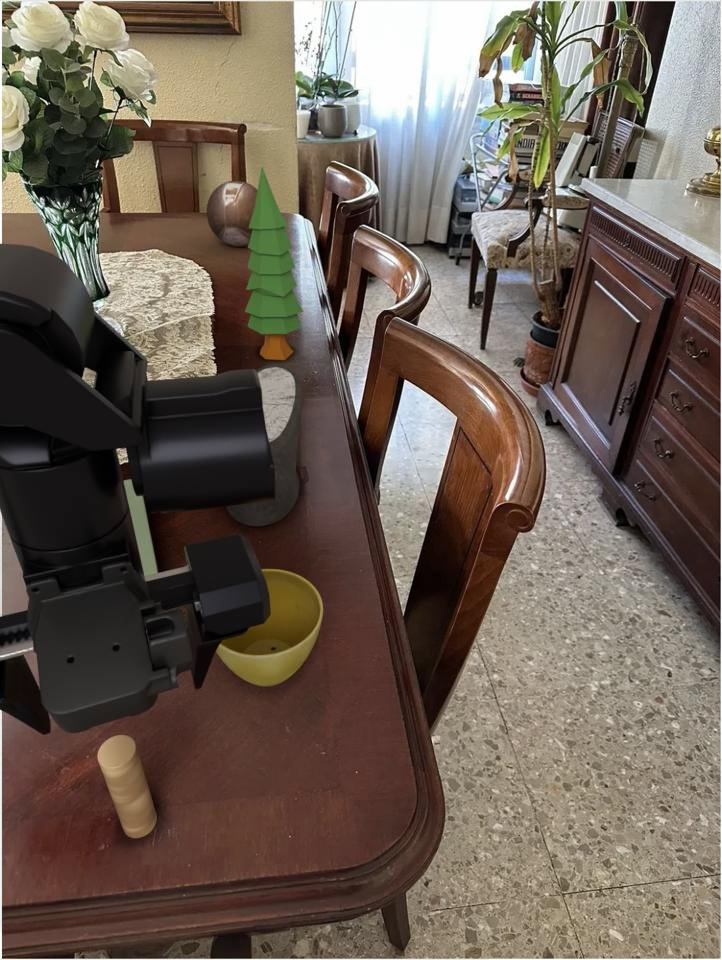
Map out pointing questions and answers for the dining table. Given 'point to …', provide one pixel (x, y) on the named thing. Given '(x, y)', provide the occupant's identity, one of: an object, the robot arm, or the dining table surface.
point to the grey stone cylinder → (277, 444)
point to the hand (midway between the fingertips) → (124, 705)
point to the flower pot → (277, 632)
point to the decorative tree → (271, 276)
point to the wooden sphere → (232, 212)
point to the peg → (127, 785)
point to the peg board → (141, 529)
